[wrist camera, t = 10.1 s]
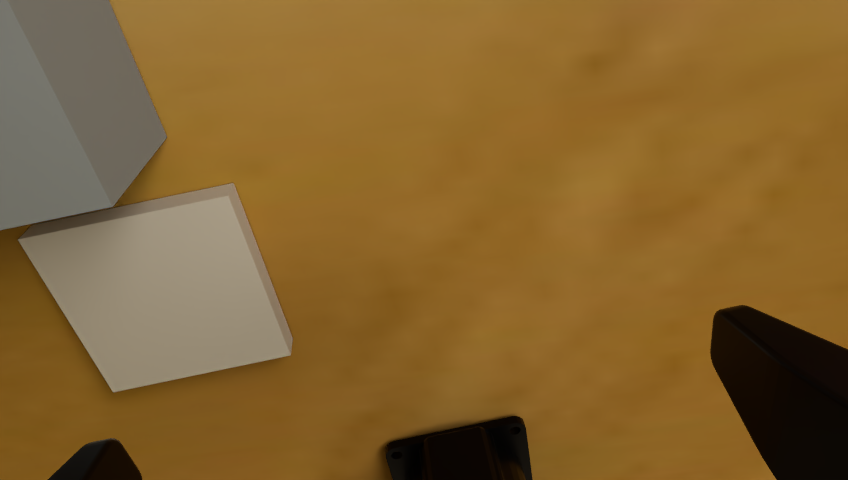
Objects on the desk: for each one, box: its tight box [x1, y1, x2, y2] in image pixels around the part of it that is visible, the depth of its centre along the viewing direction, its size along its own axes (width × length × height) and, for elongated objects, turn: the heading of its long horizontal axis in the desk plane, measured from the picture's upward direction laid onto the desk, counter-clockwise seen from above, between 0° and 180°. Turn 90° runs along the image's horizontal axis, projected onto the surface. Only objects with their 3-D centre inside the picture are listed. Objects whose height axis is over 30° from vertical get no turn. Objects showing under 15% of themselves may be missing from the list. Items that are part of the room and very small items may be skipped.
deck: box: [18, 183, 293, 392], centre depth 21 cm, size 7×7×1 cm
